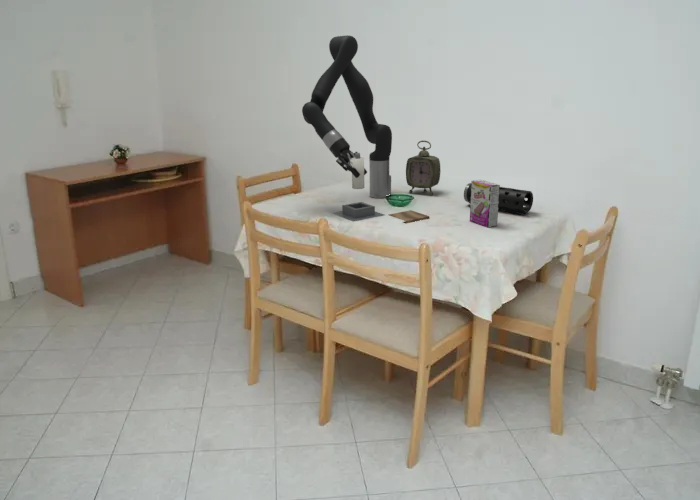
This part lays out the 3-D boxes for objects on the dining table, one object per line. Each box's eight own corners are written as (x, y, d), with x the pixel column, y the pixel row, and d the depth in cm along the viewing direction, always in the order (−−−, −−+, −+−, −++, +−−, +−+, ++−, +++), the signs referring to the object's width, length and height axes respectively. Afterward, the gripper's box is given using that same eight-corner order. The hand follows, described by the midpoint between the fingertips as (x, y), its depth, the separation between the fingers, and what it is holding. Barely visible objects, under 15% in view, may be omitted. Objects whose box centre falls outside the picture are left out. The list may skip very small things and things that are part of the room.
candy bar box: (468, 221, 234) (470, 180, 229) (478, 219, 236) (480, 179, 231) (487, 228, 224) (490, 185, 219) (497, 226, 227) (500, 184, 222)
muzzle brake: (521, 217, 238) (523, 192, 235) (461, 207, 256) (463, 183, 253) (532, 213, 244) (534, 188, 241) (473, 202, 262) (474, 179, 259)
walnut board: (410, 212, 248) (410, 210, 248) (429, 218, 238) (429, 216, 238) (387, 217, 242) (387, 214, 242) (405, 223, 232) (405, 221, 232)
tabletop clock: (405, 193, 281) (406, 140, 273) (413, 189, 288) (414, 138, 280) (433, 196, 274) (435, 142, 266) (441, 192, 281) (443, 140, 273)
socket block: (363, 209, 254) (363, 199, 253) (385, 217, 241) (385, 206, 240) (331, 215, 246) (331, 204, 244) (353, 223, 233) (352, 212, 232)
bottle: (360, 185, 243) (359, 151, 238) (366, 187, 239) (366, 153, 235) (349, 187, 241) (348, 153, 236) (356, 189, 237) (355, 154, 232)
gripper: (331, 139, 231) (358, 172, 229) (350, 134, 243) (376, 166, 241) (320, 152, 236) (347, 184, 234) (340, 146, 247) (365, 177, 245)
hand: (361, 175), depth 237 cm, fingers closed on bottle, 5 cm apart
